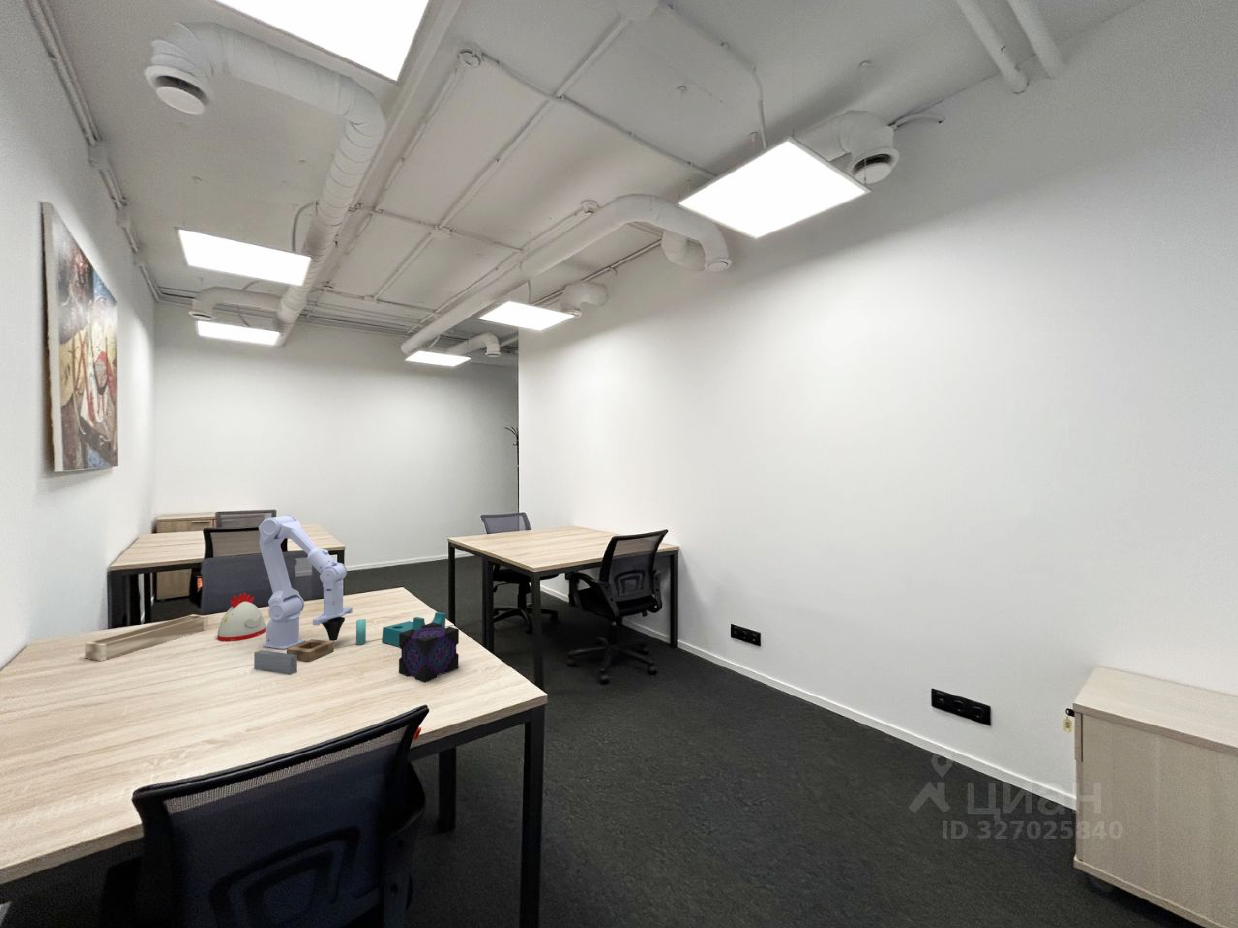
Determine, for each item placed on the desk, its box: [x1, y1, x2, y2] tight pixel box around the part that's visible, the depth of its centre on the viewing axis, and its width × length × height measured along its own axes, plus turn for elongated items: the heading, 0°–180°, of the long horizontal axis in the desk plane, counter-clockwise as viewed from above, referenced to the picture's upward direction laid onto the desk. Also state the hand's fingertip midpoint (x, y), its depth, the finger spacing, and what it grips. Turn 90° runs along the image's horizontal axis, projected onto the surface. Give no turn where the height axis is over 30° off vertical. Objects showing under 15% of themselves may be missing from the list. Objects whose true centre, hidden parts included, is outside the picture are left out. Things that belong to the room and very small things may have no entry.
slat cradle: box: [84, 614, 209, 662], centre depth 166 cm, size 7×30×5 cm, turn 165°
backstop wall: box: [253, 649, 298, 675], centre depth 145 cm, size 14×2×5 cm, turn 75°
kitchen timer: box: [216, 592, 267, 643], centre depth 174 cm, size 14×14×15 cm
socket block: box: [286, 638, 334, 662], centre depth 156 cm, size 9×9×3 cm
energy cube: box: [398, 621, 460, 684], centre depth 146 cm, size 12×12×12 cm
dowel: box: [355, 618, 367, 646], centre depth 167 cm, size 3×3×8 cm
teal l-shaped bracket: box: [381, 611, 447, 647], centre depth 169 cm, size 18×11×10 cm, turn 63°
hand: (333, 639), depth 165 cm, fingers closed
